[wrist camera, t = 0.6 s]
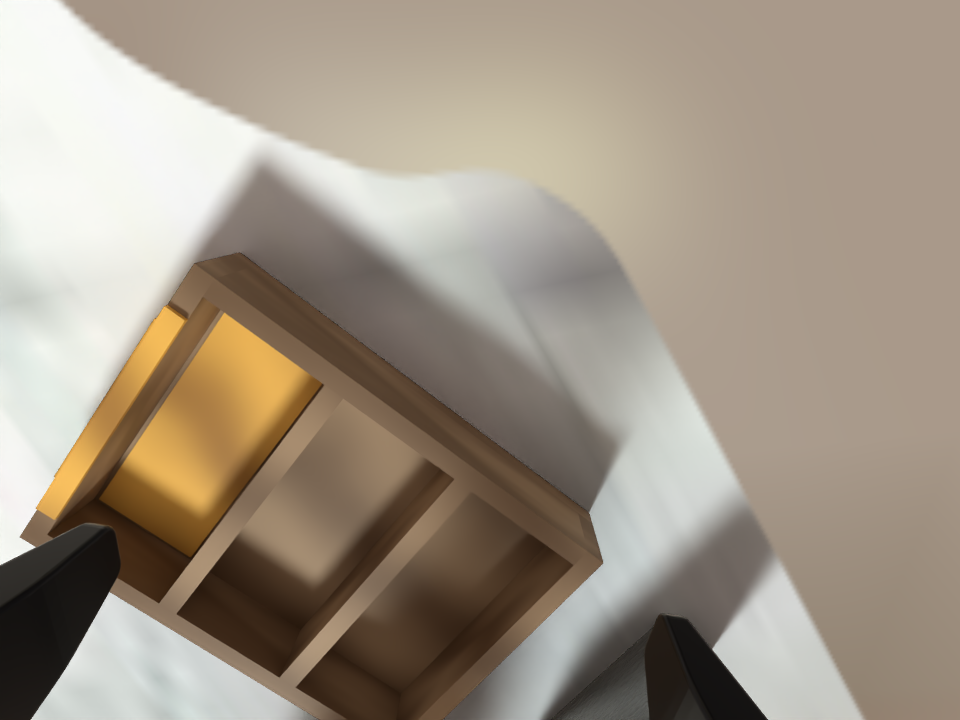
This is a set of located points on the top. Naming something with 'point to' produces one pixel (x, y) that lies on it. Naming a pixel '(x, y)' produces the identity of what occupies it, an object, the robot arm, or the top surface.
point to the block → (614, 691)
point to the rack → (313, 507)
